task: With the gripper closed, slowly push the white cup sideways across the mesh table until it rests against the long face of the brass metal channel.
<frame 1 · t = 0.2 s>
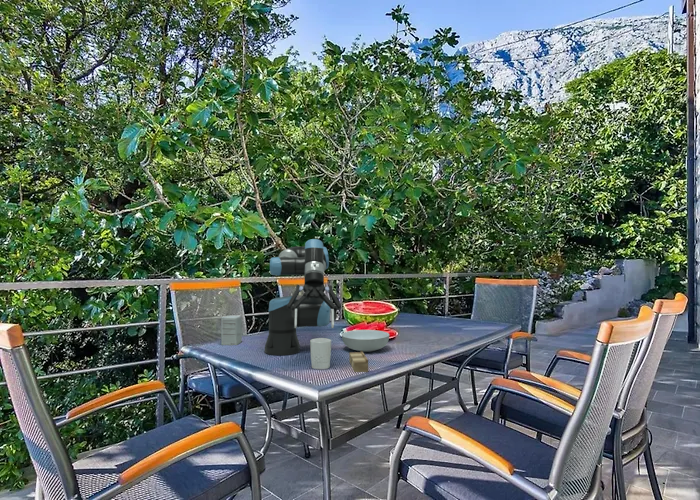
hand: (314, 326, 157), 15 cm above the table, tool tilted 30°, fingers open, 13 cm apart
supplement box: (231, 344, 199), on the table
serving bowl: (365, 350, 188), on the table
white cup: (320, 367, 158), on the table
brass metal channel: (358, 366, 160), on the table
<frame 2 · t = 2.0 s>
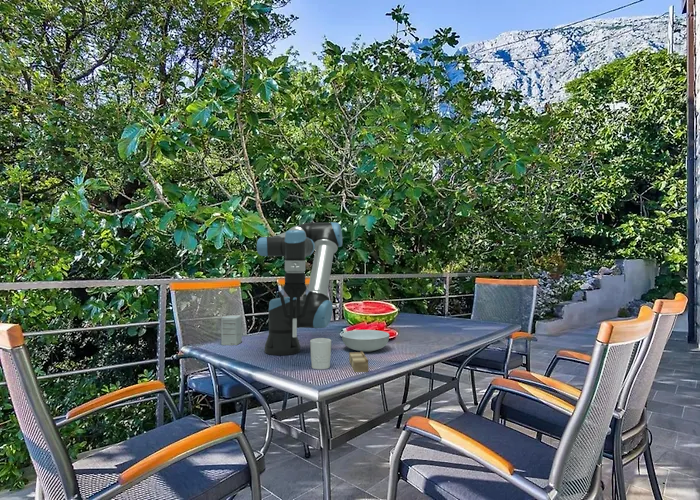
hand: (294, 336, 157), 12 cm above the table, tool pointing down, fingers closed
nothing on the table moved.
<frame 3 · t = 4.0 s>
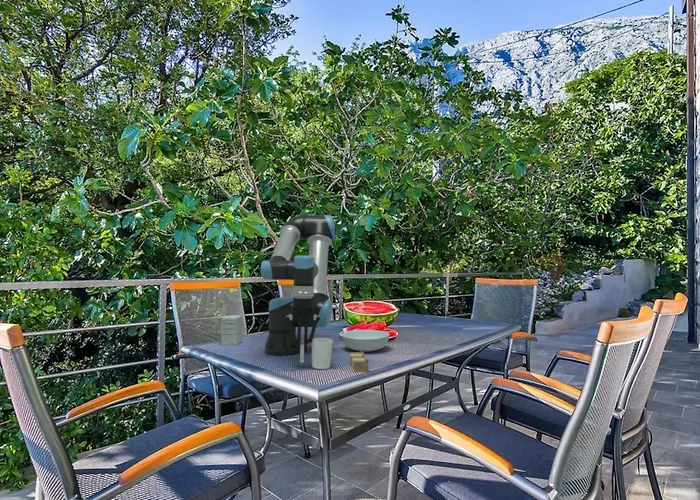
hand: (301, 361, 157), 2 cm above the table, tool pointing down, fingers closed
white cup: (320, 367, 158), on the table, touching gripper, hand
everything else where it was.
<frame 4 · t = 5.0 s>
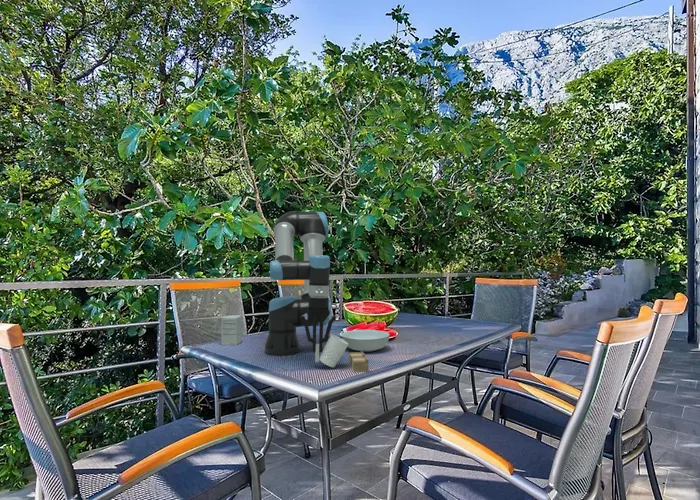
hand: (317, 361, 157), 2 cm above the table, tool pointing down, fingers closed
white cup: (326, 363, 158), point 1 cm above the table, touching gripper
everything else where it was.
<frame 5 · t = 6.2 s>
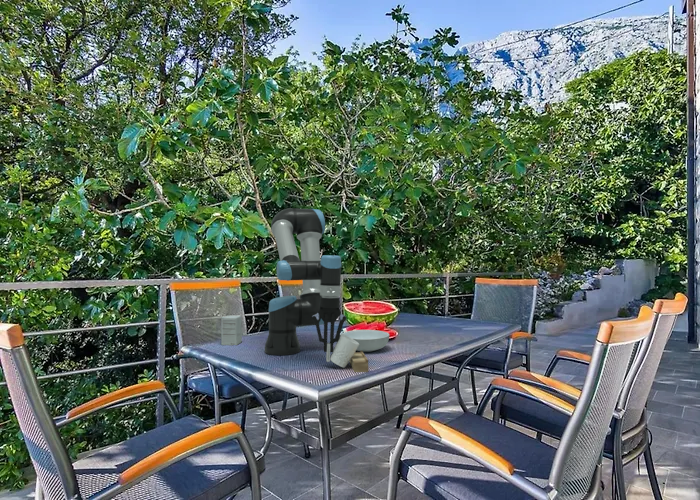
hand: (328, 360, 158), 2 cm above the table, tool pointing down, fingers closed
white cup: (337, 363, 158), point 1 cm above the table, touching gripper
everything else where it was.
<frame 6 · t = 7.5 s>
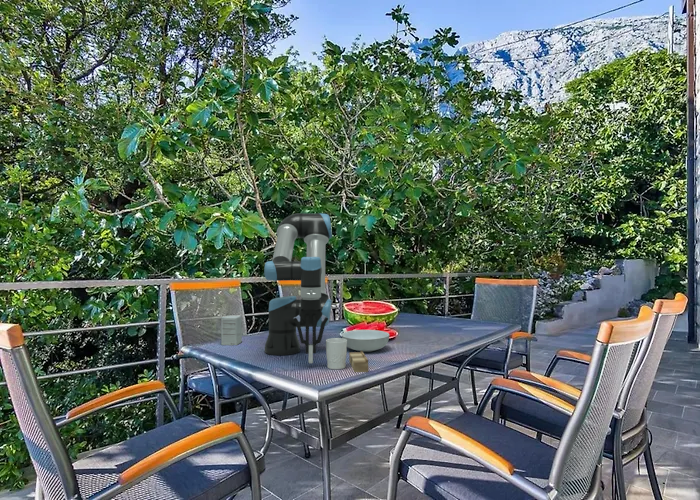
hand: (310, 362, 158), 2 cm above the table, tool pointing down, fingers closed
white cup: (336, 367, 159), on the table
everything else where it was.
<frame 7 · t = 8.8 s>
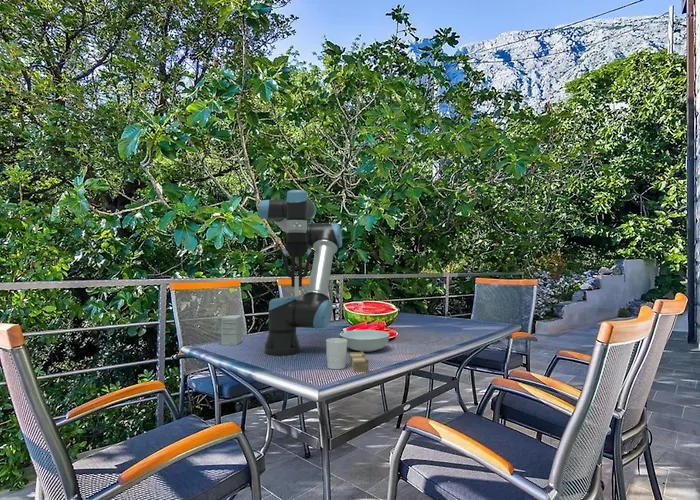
hand: (296, 295, 159), 26 cm above the table, tool pointing down, fingers closed
nothing on the table moved.
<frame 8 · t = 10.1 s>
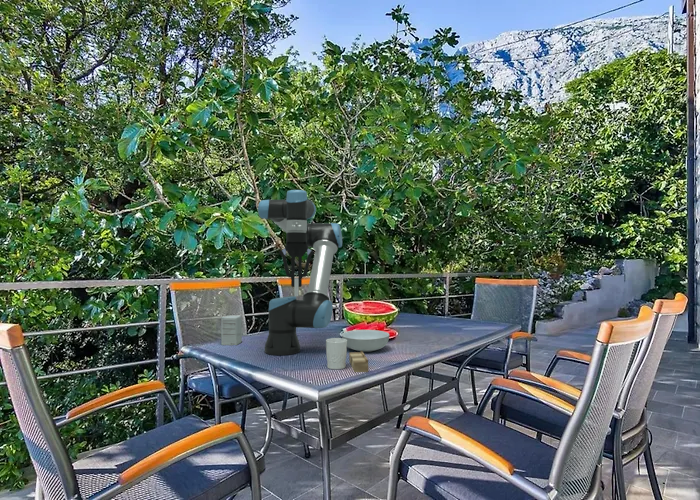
hand: (296, 295, 159), 26 cm above the table, tool pointing down, fingers closed
nothing on the table moved.
at the end: white cup inside the target area on the table beside the brass metal channel (1.5 cm from its centre), on the table; white cup tilted 0° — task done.
